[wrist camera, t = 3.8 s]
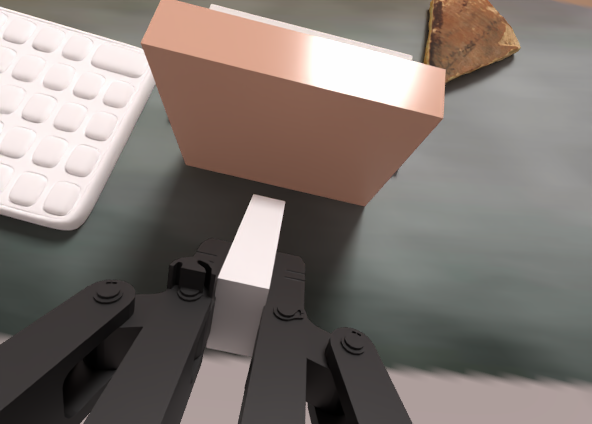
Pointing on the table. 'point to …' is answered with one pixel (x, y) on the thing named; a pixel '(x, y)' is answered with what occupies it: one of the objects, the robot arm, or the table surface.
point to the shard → (467, 36)
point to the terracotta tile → (288, 102)
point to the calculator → (63, 116)
